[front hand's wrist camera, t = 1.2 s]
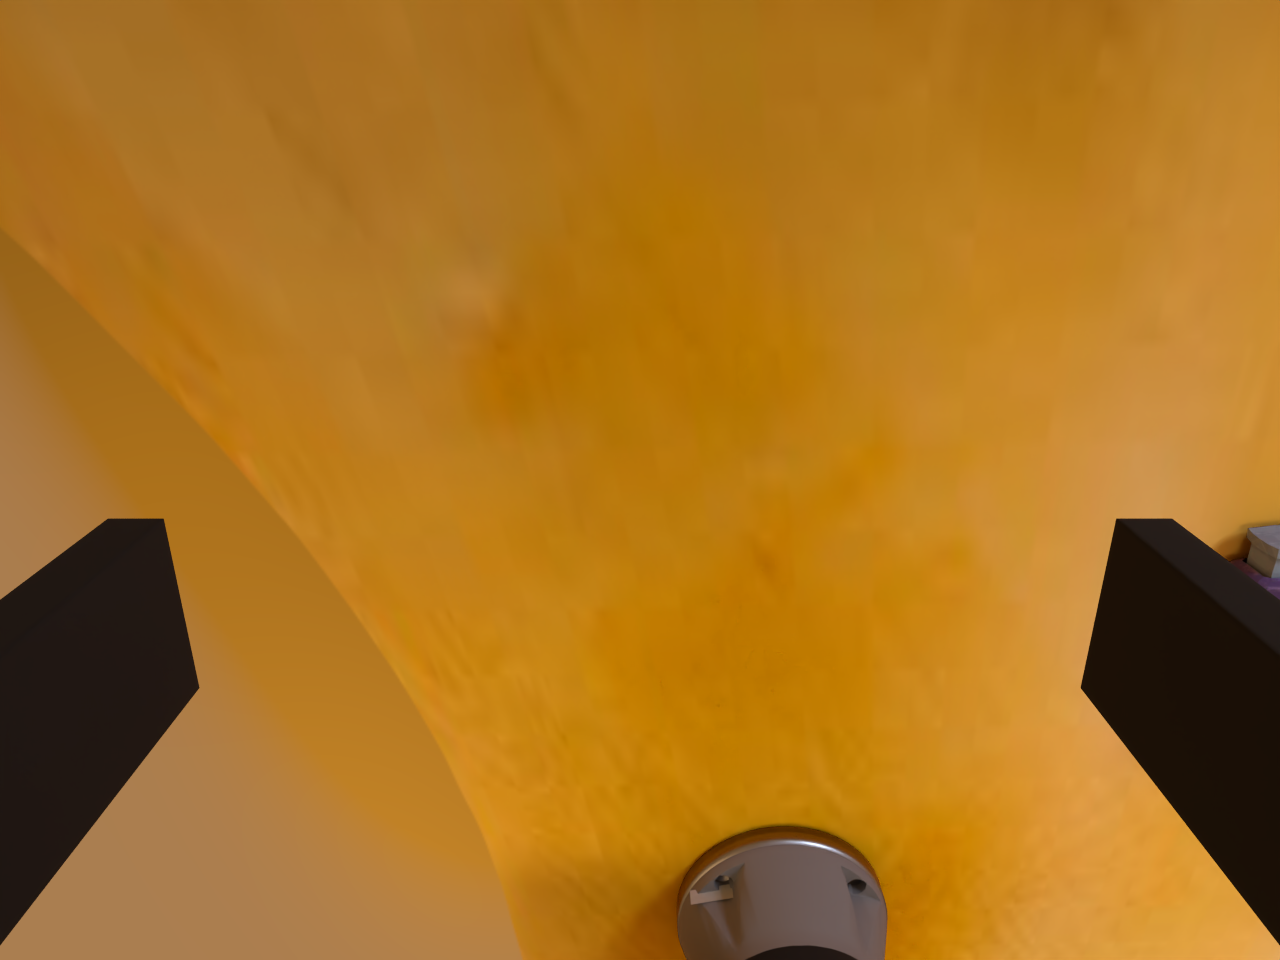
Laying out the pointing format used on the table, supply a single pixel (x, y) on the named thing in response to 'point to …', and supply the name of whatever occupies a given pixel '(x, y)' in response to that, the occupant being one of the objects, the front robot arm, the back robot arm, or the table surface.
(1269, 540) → the toy gun
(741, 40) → the table surface
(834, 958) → the front robot arm
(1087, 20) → the table surface
